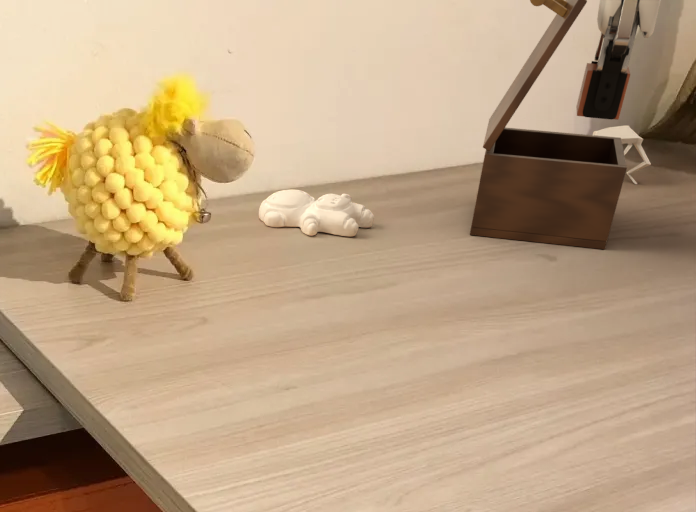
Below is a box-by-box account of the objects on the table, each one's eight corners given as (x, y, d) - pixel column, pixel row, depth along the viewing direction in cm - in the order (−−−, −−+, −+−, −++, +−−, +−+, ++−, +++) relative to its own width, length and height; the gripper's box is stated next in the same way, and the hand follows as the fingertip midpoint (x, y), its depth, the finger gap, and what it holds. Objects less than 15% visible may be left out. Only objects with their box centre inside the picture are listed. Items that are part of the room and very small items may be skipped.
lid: (584, -16, 102) (546, -42, 102) (587, 1, 93) (545, -28, 92) (495, 123, 112) (459, 100, 111) (489, 151, 102) (450, 126, 102)
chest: (601, 214, 114) (621, 137, 110) (604, 249, 105) (627, 167, 100) (476, 201, 117) (491, 126, 112) (469, 235, 108) (484, 154, 103)
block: (616, 111, 105) (628, 66, 102) (618, 119, 102) (630, 74, 99) (576, 107, 105) (586, 62, 103) (576, 116, 102) (587, 70, 100)
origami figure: (643, 192, 122) (656, 147, 119) (570, 183, 124) (581, 139, 121) (648, 168, 130) (660, 125, 127) (579, 160, 133) (590, 117, 129)
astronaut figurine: (342, 244, 104) (345, 213, 102) (243, 220, 109) (245, 190, 107) (382, 224, 110) (386, 194, 108) (286, 202, 115) (289, 173, 113)
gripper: (710, -108, 85) (641, 135, 96) (690, -118, 97) (632, 98, 109) (615, -113, 86) (559, 127, 98) (608, -122, 99) (559, 92, 110)
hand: (598, 110), depth 103 cm, fingers closed on block, 4 cm apart
